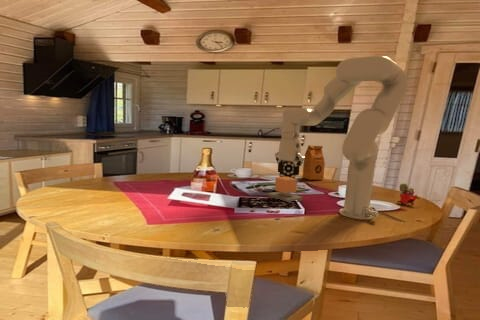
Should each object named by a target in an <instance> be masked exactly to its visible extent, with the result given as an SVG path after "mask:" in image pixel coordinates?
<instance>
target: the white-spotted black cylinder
mask: <svg viewBox="0 0 480 320" xmlns="http://www.w3.org/2000/svg"><path fill="white" fill-rule="evenodd" d="M283 164H284V170H283V172H279V174H278V175H279V176H278V177H290V178H294V179H296V176H297V175H293V168H294V166H295V165H294V163H293V162H290V161H284V162H283Z"/></svg>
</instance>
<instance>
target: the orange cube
mask: <svg viewBox="0 0 480 320" xmlns="http://www.w3.org/2000/svg"><path fill="white" fill-rule="evenodd" d="M274 182H275V183H274V184H275V185H274V191H275V192H283V193H290V194H293V193H297V188H298V187H297V186H298V178H295V179H294V178H290V177H279V176H276V177H275V180H274Z"/></svg>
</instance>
